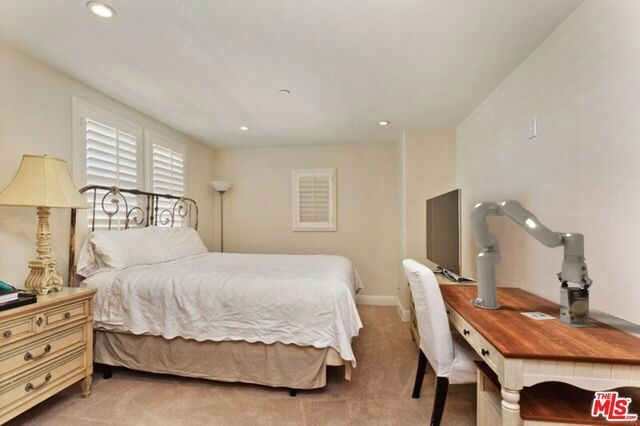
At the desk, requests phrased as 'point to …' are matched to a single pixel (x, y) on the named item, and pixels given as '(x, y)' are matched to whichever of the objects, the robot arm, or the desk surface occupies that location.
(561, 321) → the mat
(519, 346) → the desk surface
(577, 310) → the coffee box
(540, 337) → the desk surface
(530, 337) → the desk surface
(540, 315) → the card
